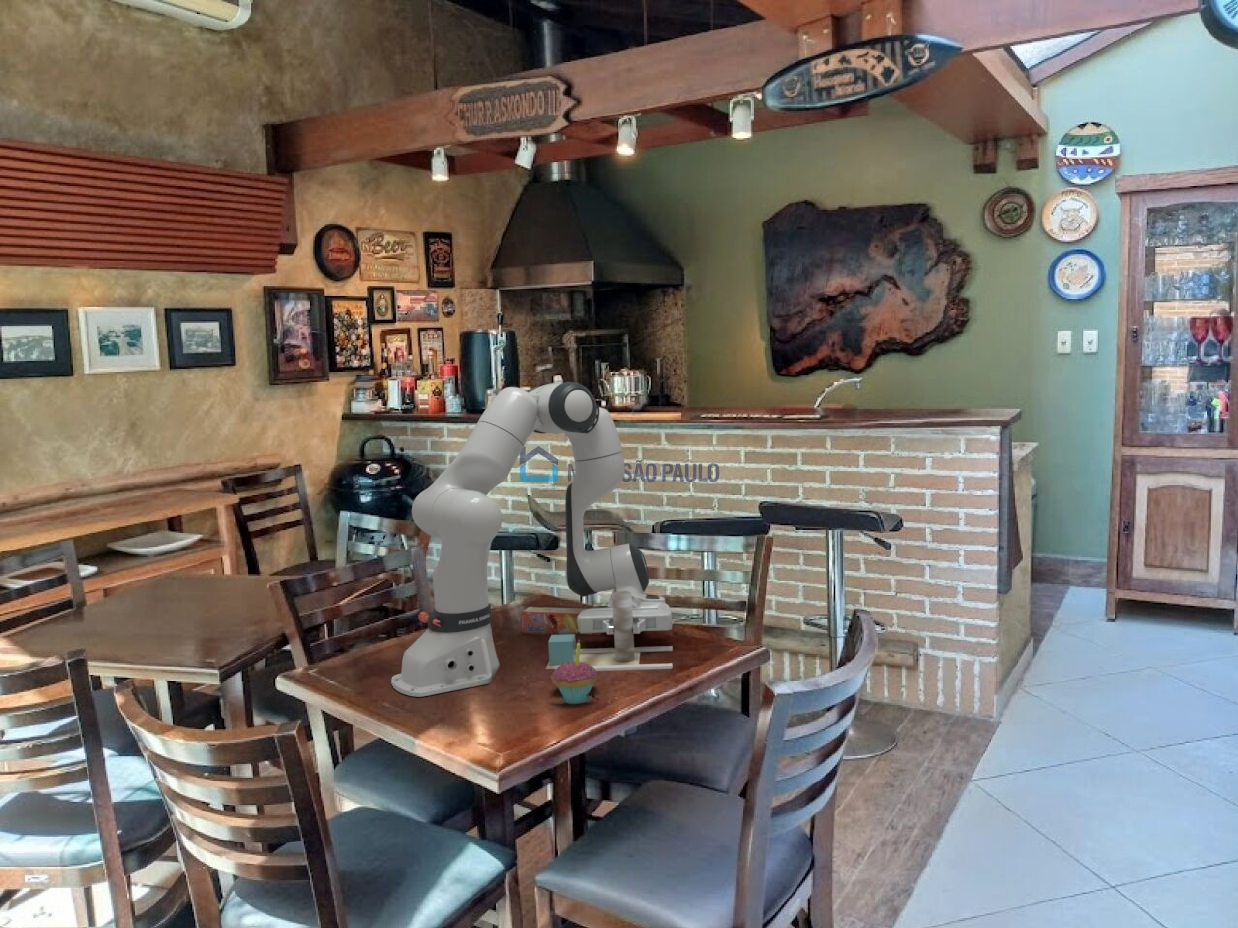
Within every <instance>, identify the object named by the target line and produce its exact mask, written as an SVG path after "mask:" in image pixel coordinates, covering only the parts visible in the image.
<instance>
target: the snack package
mask: <svg viewBox="0 0 1238 928" xmlns="http://www.w3.org/2000/svg"><path fill="white" fill-rule="evenodd" d="M586 609H587V608H577V607H576V608H574V607H573V608H570V607H545V606H544V607H535V606H527V608H525V609H524V610H523V611H522V612H521V615H520V629H521V632H522V633H523V634H524V635H528V636H529V635H533V636H534V635H536V636H537V635H538V636H541V635H542V636H543V635H547V636H548V635H566V634H575V635H576V634H580V635H582V634H583V635H585V634H586V635H595V636H596V635H597V636H600V635H603V634H604V633H606V632H601V633H581V632H579V631H578V623H577V618H578V615H579V614H580V613H581V612H582V611H583V610H586ZM606 634H607V633H606Z"/></svg>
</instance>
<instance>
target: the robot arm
mask: <svg viewBox="0 0 1238 928" xmlns="http://www.w3.org/2000/svg"><path fill="white" fill-rule="evenodd" d="M533 432H534V433H537V434H554V435H559V434H564V435H565V436H566V438H567V439H568V440H569V443H570V445H571V446H572V455H573V460H574V466H575V467H574V469H575V471H574V477H573V479H572V481H571V483H569V484H568V485H567V487H566V490H565V498H564V499H565V500H564V501H565V508H564V509H565V511H564V512H565V513H564V515H565V538H566V539H565V540H566V541H565V543H566V544H565V545H566V548H565V549H566V563H565V570H564V574H565V580H566V581H565V582H566V585H567V586H568V589H569V590H570V591H571V592H572V593H574V594H576V595H578V596H580V597H583V598H585V597H588V596H591V595H595V594H597V593H600V592H601V593H603V592H607V591H612V592H611V595H610V598H609V601H608V604H607V607H602V608H601V607H599V608H598V607H597V608H595V607H594V608H585V609H586V610H583V611H582V612H581V613H580V614H579V615H578V618H577V623H578V631H579V632H581V633H601V632H606V635H609V636H610V635H614V623H613V605H612V593H614V592H619V591H628V592H631V598H632V617H633V635H635V634H638V635H639V634H641V632H653V631H654V632H657V631H658V632H659V631H670V630H671V631H672V630H673V615H672V610H671V606H670V605H669V604H668V603H666V598H665V597H662V596H657V595H656V596H653V595H647V591H646V590H647V588H648V586H649V584H650V575H649V569H648V564H647V560H646V558H645V555H644V553H643V551H642V550H640V549H639V547H637V546H636V545H634V544H633V543H630V542H629V543H623V544H619V545H613V546H610V547H605V548H600V549H594V550H587V549H586V548H585V534H584V533H585V532H584V529H585V528H584V516H585V513H586V511H587V510H588V508H590V507H591V506H592V505H593V504H595V503H596V502H598V501H599V500H601V499H603V498H604V497H606V496H607V495H609V494H610V493H612V492H613V491H614V490H615V489H617V487H618V486H620V484H621V482H623V479H624V476H625V474H626V473H625V472H626V471H625V470H626V469H625V458H624V454H623V453H624V452H623V448H622V444H621V440H620V436H619V432H618V430H617V427H616V425H615V422H614V419H613V416H612V415H611V413H610V412H609V411H608V410H607V409H606V408H603V407H600V406H599V405H598V404H597V402H596V399H595V397H594V395H593V394H592V392H591V391H590V389H589V388H588V387H586V386H585V385H583V384H581V383H578V382H573V381H565V382H560V383H559V382H552V383H548V384H544V385H541V386H535V387H533V388H530V389H529V390H525V389H523V388H520V387H516V386H508V387H505V388H502V389H501V390H500V391H499V392H498V394H496V395H495V397H494V398H493V399H492V400H491V402H490V403H489V404H488V406H487V407H486V408H485V409H484V411H483V413H482V414H481V416H480V417H479V419H478V421H477V423H476V424H475V426H474V427H473V429H472V431H471V432H470V434H469V436H468V438H467V439H466V441H465V443H464V444H463V446H462V448H461V450H460V451H459V453H458V454H457V456H456V457H455V458H454V459H453V460H452V461H451V463H450V464H449V465H448V466H447V467H446V468H445V469H444V470H443V472H441V474H440V475H439V476H438V477H437V478H436V480H435V481H434V482H432V484H431V485H430V486H428V488H426V489H424V490H423V491H421V492H420V493H419V494H418V495H417V496H416V497H415V498H414V500H413V503H412V507H411V515H412V516H411V517H412V519H413V521H414V524H416V526H417V527H418V528H419V529H421V530H422V531H423V533H426V534H427V535H429V536H430V537H433V538H436V539H440V540H441V546H440V547H441V548H440V553H439V554H440V555H439V560H438V563H437V565H435V568H434V569H433V572H432V584H433V585H432V587H433V598H434V599H433V600H434V609H433V610H432V612H431V613H430V614H429V612H426V611H421V612H419V614H418V617H417V618H418V620H419V622H422V623H425V624H426V623H427V627H428V628H427V629H426V630H425V631H424V632H423V633H422V634H421V635H420V636H419V637H418V638H417V639H416V640H415V641H414V642H413V643H412V644H411V645H410V646H409V647H408V648H407V649H406V650H405V651H404V653H403V656H402V662H401V672H400V673H398V674H395V675H393V676H392V677H391V681H390V682H391V683H390V685H391V684H392V685H391V687H392V686H393V687H392V688H393V689H395V691H397V692H399V693H401V694H403V695H407V696H410V697H418V698H422V697H426V696H432V695H437V694H442V693H448V692H451V691H452V692H453V691H457V690H462V689H467V688H473V687H477V686H482V685H487V684H490V683H491V682H492V680H493V678H494V676H495V675H496V674H497V671H498V669H499V668H500V667H501V664H500V661H499V658H498V655H497V650H496V647H495V643H494V637H493V632H492V629H493V613H492V606H491V605H492V604H491V603H490V602H489V587H488V585H489V584H488V561H489V555H490V551H491V547H492V543H493V540H494V539H495V538H496V536H497V535H498V533H499V532H500V530H501V528H502V524H503V514H502V510H501V507H500V506H499V504H498V503H497V501H495V500H494V499H493V498H491V497H490V496H488V495H489V494H490V492H491V491H492V490H494V488H495V487H498V485H500V484H502V483H503V482H504V481H505V480H506V479H507V478H508V476H509V475H510V473H511V471H512V470H513V467H514V465H515V463H517V462H516V461H517V460H518V458H519V456H520V454H521V452H522V451H523V449H524V447H525V446H526V443H527V442H528V439H529V437H530V436H531V435H532V433H533Z"/></svg>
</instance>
